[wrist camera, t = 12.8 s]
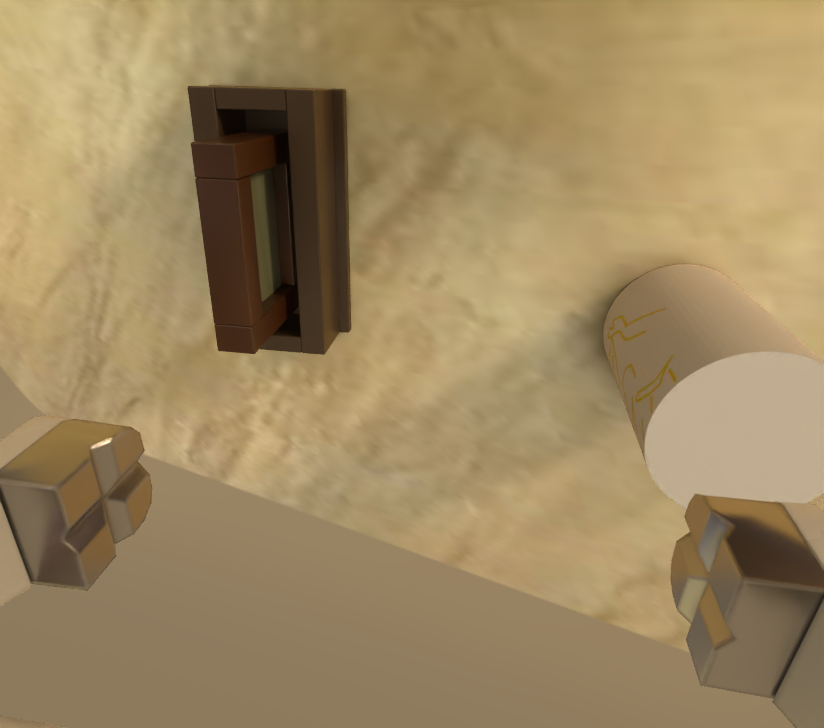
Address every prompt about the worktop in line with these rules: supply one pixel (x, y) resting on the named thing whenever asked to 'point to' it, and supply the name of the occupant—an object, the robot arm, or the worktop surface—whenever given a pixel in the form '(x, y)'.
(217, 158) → the frame
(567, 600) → the worktop surface
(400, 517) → the worktop surface
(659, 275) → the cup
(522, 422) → the worktop surface
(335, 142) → the holder
